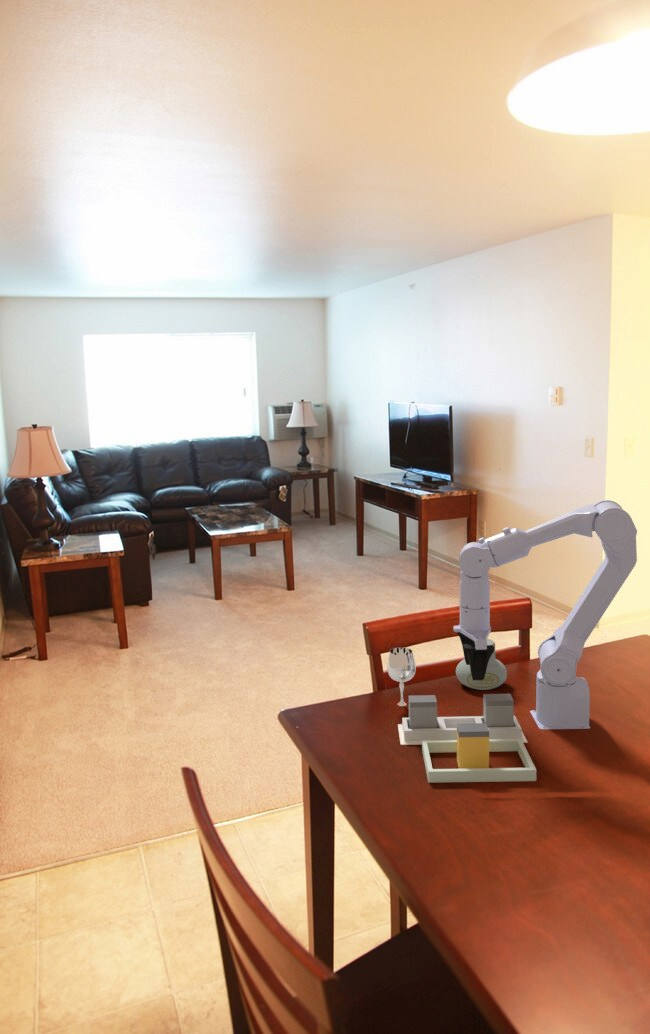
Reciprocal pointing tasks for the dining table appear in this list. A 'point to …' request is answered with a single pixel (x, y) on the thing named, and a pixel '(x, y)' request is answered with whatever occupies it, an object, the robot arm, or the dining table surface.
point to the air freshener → (493, 675)
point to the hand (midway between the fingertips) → (474, 671)
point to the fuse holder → (454, 730)
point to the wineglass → (401, 667)
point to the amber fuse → (472, 745)
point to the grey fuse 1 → (422, 712)
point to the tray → (479, 773)
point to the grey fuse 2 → (498, 710)
